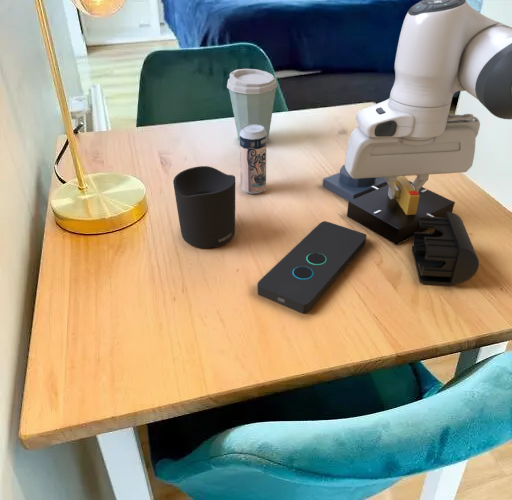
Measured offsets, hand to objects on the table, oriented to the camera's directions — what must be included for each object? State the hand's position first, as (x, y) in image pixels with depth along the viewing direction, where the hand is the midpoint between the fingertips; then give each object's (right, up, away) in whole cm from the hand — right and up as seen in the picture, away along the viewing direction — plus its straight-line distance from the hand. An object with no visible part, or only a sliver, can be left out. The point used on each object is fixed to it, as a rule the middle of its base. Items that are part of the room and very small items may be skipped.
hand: (402, 196), depth 84 cm
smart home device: (-16, -12, -9) cm, 21 cm away
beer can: (-25, +2, +11) cm, 27 cm away
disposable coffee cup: (-25, +15, +29) cm, 41 cm away
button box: (-6, +3, +11) cm, 13 cm away
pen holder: (-32, -6, -2) cm, 33 cm away
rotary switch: (0, -3, +2) cm, 4 cm away
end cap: (+3, -12, -9) cm, 15 cm away
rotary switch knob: (0, -1, +1) cm, 1 cm away
